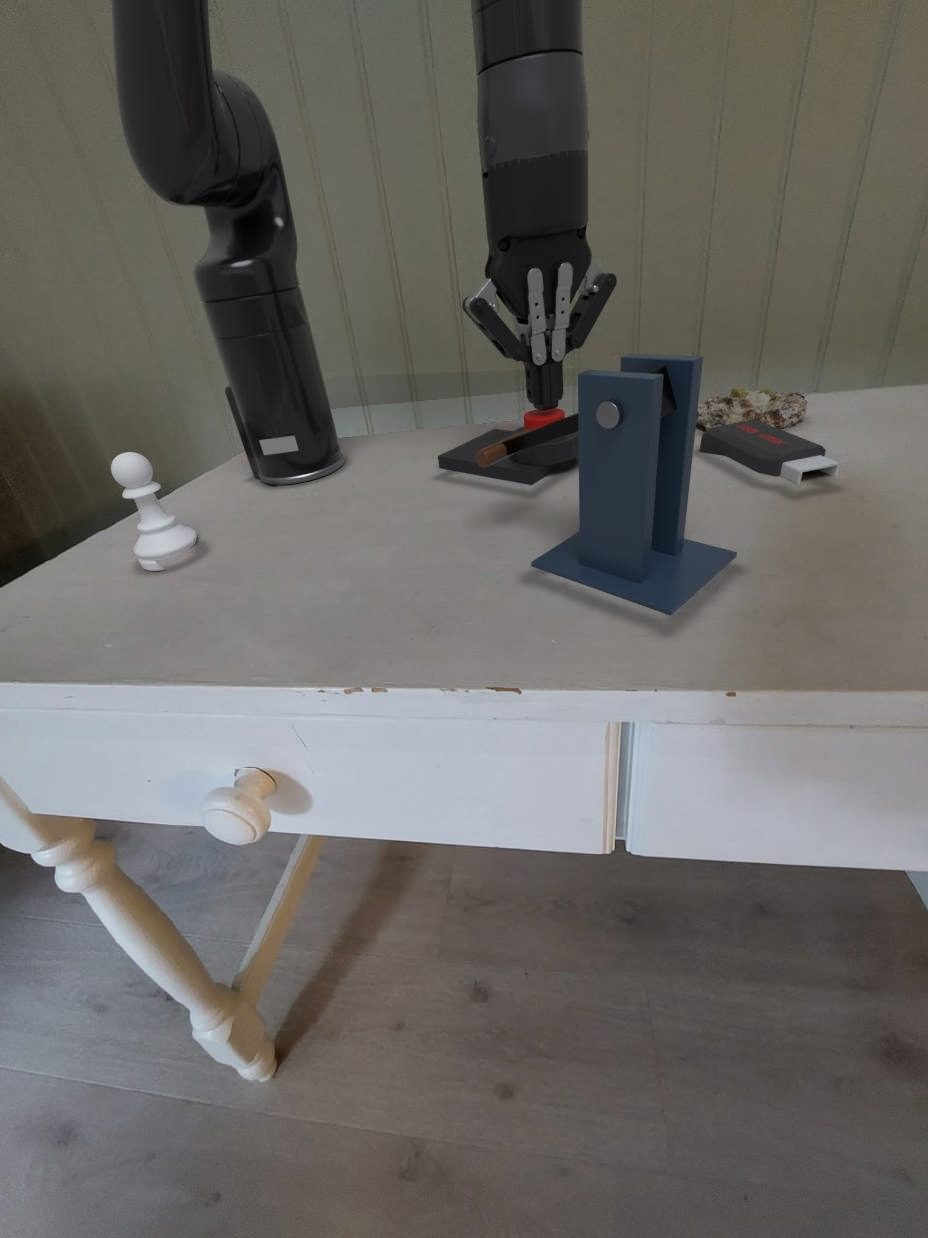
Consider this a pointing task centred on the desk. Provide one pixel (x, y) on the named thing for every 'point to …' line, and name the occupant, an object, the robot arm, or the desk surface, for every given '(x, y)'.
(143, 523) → the chess pawn
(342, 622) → the desk surface
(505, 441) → the switch lever
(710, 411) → the mineral rock
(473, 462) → the box
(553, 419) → the red button
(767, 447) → the usb drive
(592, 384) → the stand
